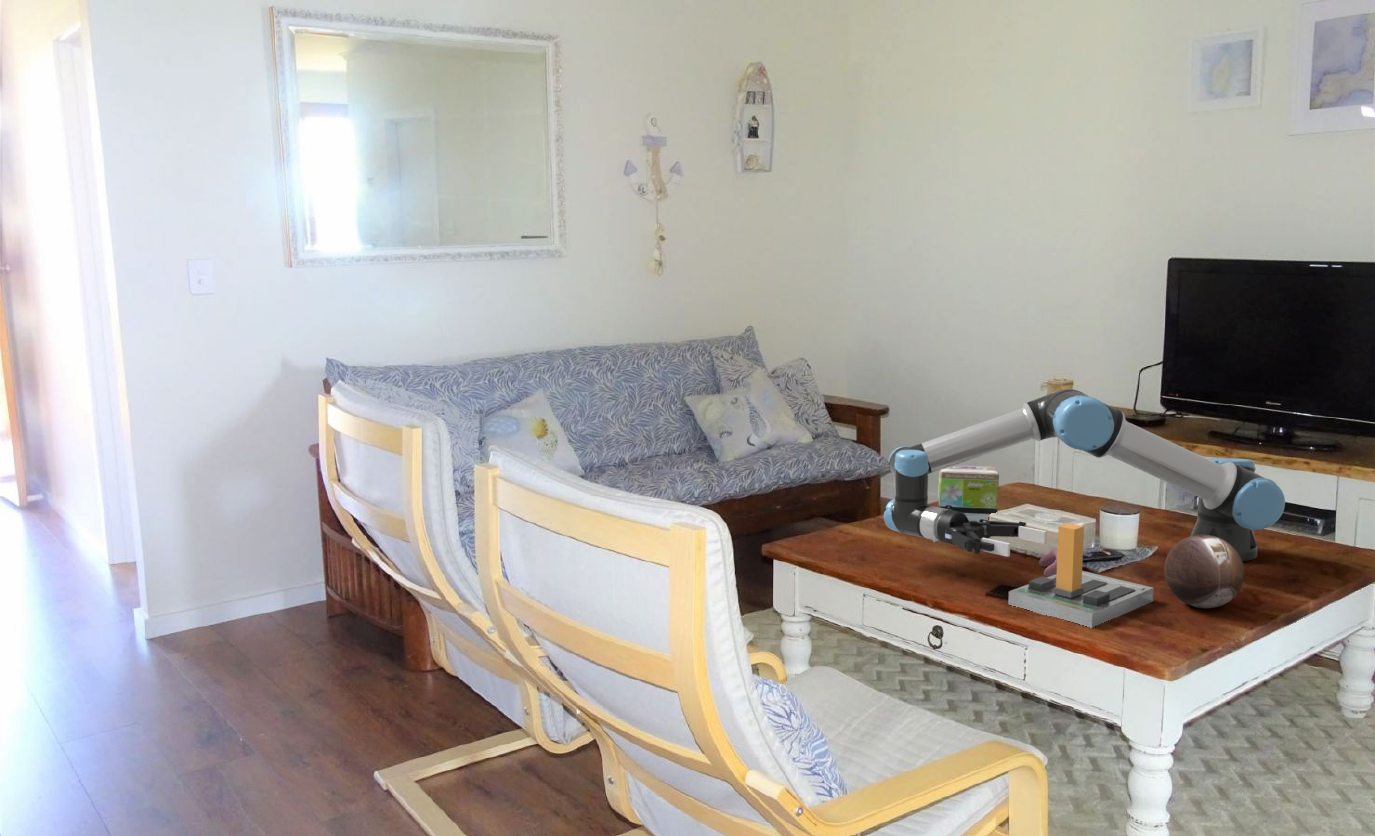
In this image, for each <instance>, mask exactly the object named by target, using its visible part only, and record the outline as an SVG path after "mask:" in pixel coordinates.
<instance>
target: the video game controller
mask: <svg viewBox="0 0 1375 836" xmlns="http://www.w3.org/2000/svg"><path fill="white" fill-rule="evenodd" d="M1057 551H1058V545H1056V547H1054V548H1053V549H1051V550H1050V552H1048V553H1047V554H1044V555H1043V556H1042V557H1040V560H1039V561H1038V564H1039V566H1040V567H1042V566H1044V567H1043V568H1045V567H1046V566H1047V567H1046V568H1045V569H1044V570H1043V575H1044V577H1045V578H1047V577H1050V576H1052V575H1055V574H1057Z"/></svg>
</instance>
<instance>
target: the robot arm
mask: <svg viewBox="0 0 1375 836" xmlns="http://www.w3.org/2000/svg"><path fill="white" fill-rule="evenodd" d="M1051 438H1058V439H1060V441H1061V442H1062V443H1064V444H1065V445H1066V446H1068V447H1070V448H1072V449H1073V450H1079V451H1083V452H1085V453H1087V454H1089V455H1092V456H1094V457H1096V458H1097V459H1101V458H1104V457H1107V456H1109V457H1112V458H1113V459H1116V460H1118V461H1120V462H1122V463H1124V464H1126V465H1129V466H1131V467H1133V468H1135V469H1138V470H1140V471H1142V472H1143V473H1146V474H1148V475H1150V476H1153V477H1155V478H1157V479H1159V480H1161V481H1163V482H1166V483H1168V484H1169V485H1171V486H1174V487H1176V488H1179V489H1181V490H1182V491H1185V492H1186V493H1189V494H1192V495H1194V496H1196V497H1198V501H1197V517H1196V518H1197V519H1196V521H1195V524H1194V527H1193V529H1192V530H1191V533H1190V535H1189V537H1190V536H1194V535H1211V536H1215V537H1218V538H1220V539H1222V540H1224V541H1226V542H1227V543H1229V544H1230V545H1231V546H1232V547H1233V548H1234V549H1235V550H1236V551H1237V553H1238V554H1239V556H1240V558H1241V560H1242V562H1245V561H1246V562H1247V561H1251V560H1255V559H1256V558H1257V557H1258V545H1257V541H1256V537H1255V533H1254V531H1260V530H1261V531H1262V530H1265V529H1268V528H1270V527H1272V526H1273V525H1274V524H1275V523H1277V522H1278V520H1279V519H1280V518H1281V517H1282V515H1283V513H1284V511H1285V505H1286V499H1285V495H1284V493H1283V490H1282V489H1281V488H1280V486H1279V485H1278V484H1277V483H1276V482H1275V481H1273V480H1271V479H1270V478H1266V477H1264V476H1262V475H1259V474H1257V473H1256V472H1255V471H1256V467H1255V466H1256V465H1255V461H1254V460H1252V459H1247V458H1228V457H1226V458H1225V457H1224V458H1222V457H1217V458H1214V457H1213V458H1206V457H1204V456H1202V455H1200V454H1198V453H1196V452H1194V451H1192V450H1189V449H1187V448H1185V447H1183V446H1181V445H1179V444H1177V443H1174V442H1172V441H1170V440H1168V439H1166V438H1164V437H1161V436H1159V435H1157V434H1155V433H1152V432H1150V431H1148V430H1146V429H1144V428H1142V427H1139V426H1138V425H1135V424H1133V423H1131V422H1129V421H1127V420H1126V416H1125V413H1124V412H1123V411H1121V410H1119V409H1117V408H1115V407H1113V406H1111V405H1109V404H1106V403H1104V402H1102V401H1101V400H1099V399H1097V398H1095V397H1094V396H1093V397H1092V396H1089V395H1088V394H1086V393H1084V392H1082V391H1080V390H1078V389H1077V390H1076V389H1073V388H1070V389H1069V388H1067V389H1061V390H1057V391H1055V392H1052V393H1049V394H1047V395H1044V396H1041V397H1038V398H1036V399H1033V400H1031V401H1026V402H1024V403H1023V405H1022V408H1020V409H1017V410H1014V411H1011V412H1008V413H1005V414H1003V415H1000V416H997V417H994V418H990V419H988V420H986V421H981V422H979V423H976V424H973V425H971V426H968V427H964V428H961V429H958V430H956V431H954V432H950V433H947V434H944V435H942V436H938V437H936V438H932V439H930V440H927V441H924V442H921V443H918V444H914V445H912V446H904V445H903V446H899V447H896V448H895V449H893V450H892V452H891V453H890V454H889V457H888V469H889V471H890V473H891V474H892V476H893V479H894V478H895V483H894V498H895V499H894V498H893V499H891V500H889V501H888V503H887V504H886V506H885V511H883V512H884V513H883V520H884V523H885V526H886V527H887V528H889V529H890V530H892V531H895V532H898V533H901V534H904V535H909V536H914V537H919V538H923V539H928V540H932V542H933V543H936V542H941V543H944V544H948V545H954V546H957V547H959V548H960V549H962V550H964V551H966V552H968V553H970V552H973V553H974V554H975V555H980V553H981V551H982V552H986V553H990V554H994V555H997V556H1003V557H1011V556H1010V555H1011V543H1009V542H1005V541H1000V540H997V539H991V537H1002V538H1003V537H1006V538H1008V537H1009V538H1010V537H1012V538H1014V537H1015V538H1017V539H1019V540H1023V541H1028V542H1032V543H1038V544H1043V545H1046V544H1047V541H1048V540H1047V538H1048V537H1047V535H1048V534H1047V533H1048V531H1047V530H1042V529H1036V528H1032V527H1026V526H1025V523H1024V522H1022V521H1019V522H1013V521H1002V520H997V521H989V520H983V519H980V520H979V522H977V521H970V522H969V520H968V518H967V516H966V515H965V514H964V513H962V512H958V511H953V510H948V509H945V508H939V507H938V506H933V505H929V501H928V500H929V496H928V495H929V494H928V491H929V489H928V488H929V474H932V473H934V472H937V471H938V472H939V470H941V469H944V468H947V467H950V466H953V465H958V464H961V463H965V462H968V461H970V460H973V459H976V458H979V457H982V456H986V455H988V454H991V453H994V452H997V451H1000V450H1003V449H1006V448H1009V447H1013V446H1015V445H1018V444H1021V443H1024V442H1027V441H1030V440H1034V441H1037V442H1040V441H1044V440H1046V439H1051Z"/></svg>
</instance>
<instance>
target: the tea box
mask: <svg viewBox="0 0 1375 836" xmlns="http://www.w3.org/2000/svg"><path fill="white" fill-rule="evenodd" d="M999 481H1000V474H999V472H998V470H997V468H996V466H986V465H985V466H983V465H978V466H977V465H958V464H956V465H953V466H950V467H947V468H944V469H941V470H938V492H937V507H939V508H945V509H948V510H953V511H958V512H962V513H964V514H965V515H966V516H967V518H968V520H969V522H970V521H977V522H979V520H980V519H983V520H988V517H989V515H990V514H991V513H996V512H997V513H998V508H999V507H998V506H999V505H998V504H999V483H1000V482H999Z"/></svg>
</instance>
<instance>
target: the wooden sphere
mask: <svg viewBox="0 0 1375 836" xmlns="http://www.w3.org/2000/svg"><path fill="white" fill-rule="evenodd" d="M1243 562H1244V561H1242V560H1241V558H1240V556H1239V554H1238V553H1237V551H1236V550H1235V549H1234V548H1233V547H1232V546H1231V545H1230V544H1229V543H1227V542H1226V541H1224V540H1222V539H1220V538H1218V537H1215V536H1211V535H1194V536H1190V535H1189V536H1187V537H1185V538H1183V539H1181V540H1180V541H1178V542H1176V544H1174V545H1173V546H1172V547H1171V549H1170V550H1169V552H1168V554H1167V556H1166V558H1165V561H1164V565H1163V566H1164V568H1163V571H1164V577H1165V578H1164V579H1165V581H1166V584H1167V586H1168V588H1169V589H1170V591H1171V593H1172V594H1173V595H1174V596H1175V597H1176V598H1178V599H1179V600H1180V601H1182V602H1183V603H1185V604H1187V605H1189V606H1191V607H1194V608H1198V609H1213V608H1218V607H1221V606H1223V605H1226V604H1227V603H1230V602H1231V601H1232V600H1233V599H1234V598H1235V597H1236V596H1237V595H1238V594H1239V592H1240V591H1241V589H1242V586H1243V583H1244V581H1245V567H1244V563H1243Z"/></svg>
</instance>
